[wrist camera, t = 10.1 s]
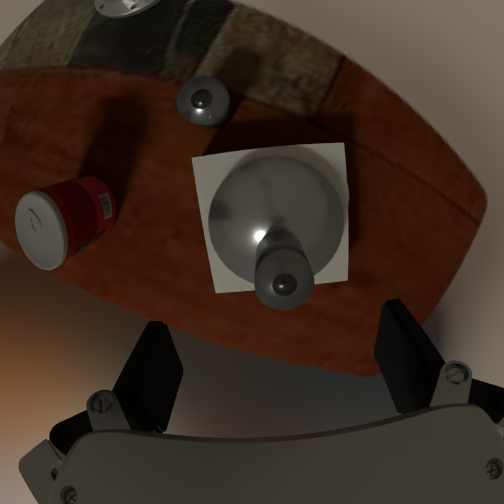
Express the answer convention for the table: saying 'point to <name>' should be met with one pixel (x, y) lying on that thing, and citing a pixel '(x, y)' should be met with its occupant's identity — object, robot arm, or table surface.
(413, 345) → the robot arm
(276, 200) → the pan
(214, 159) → the scale
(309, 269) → the spacer
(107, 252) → the table surface
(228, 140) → the table surface
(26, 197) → the canned food
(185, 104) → the spacer
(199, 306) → the table surface
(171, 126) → the table surface
